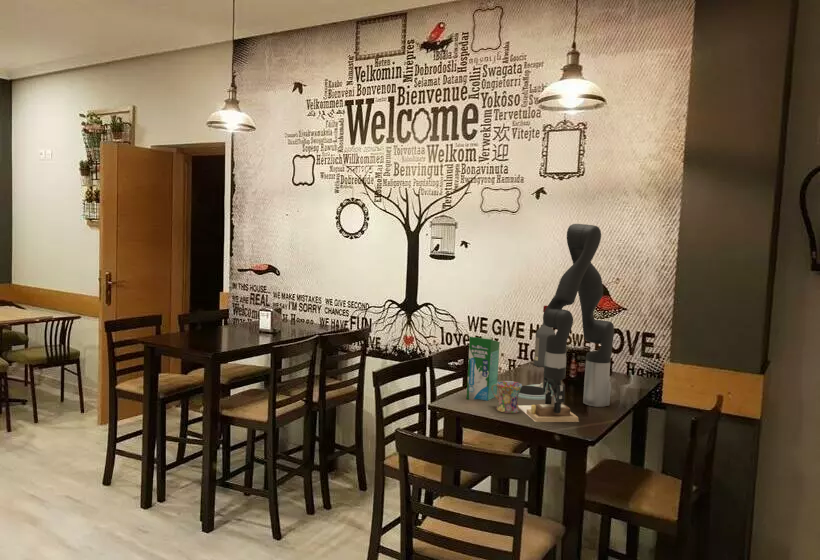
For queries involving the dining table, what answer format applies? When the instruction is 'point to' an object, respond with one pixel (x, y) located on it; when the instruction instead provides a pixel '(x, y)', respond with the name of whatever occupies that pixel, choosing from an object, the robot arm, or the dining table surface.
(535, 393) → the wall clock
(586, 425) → the dining table surface
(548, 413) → the brown wooden block
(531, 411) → the wooden tray
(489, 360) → the milk carton
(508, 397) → the mug
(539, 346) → the liquor
